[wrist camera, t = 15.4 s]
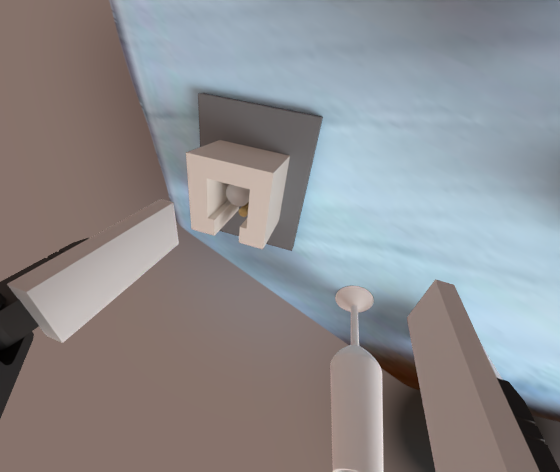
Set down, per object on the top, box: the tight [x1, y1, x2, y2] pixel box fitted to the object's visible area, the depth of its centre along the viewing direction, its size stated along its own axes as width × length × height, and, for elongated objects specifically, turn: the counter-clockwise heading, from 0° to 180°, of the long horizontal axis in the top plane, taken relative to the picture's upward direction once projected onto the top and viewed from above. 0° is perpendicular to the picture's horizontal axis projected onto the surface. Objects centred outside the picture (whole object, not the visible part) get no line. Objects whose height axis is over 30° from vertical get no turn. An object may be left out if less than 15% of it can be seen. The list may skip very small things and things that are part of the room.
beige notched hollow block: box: [186, 140, 290, 249], centre depth 31 cm, size 10×10×8 cm
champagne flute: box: [330, 286, 383, 472], centre depth 33 cm, size 7×7×24 cm
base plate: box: [198, 93, 323, 251], centre depth 33 cm, size 20×16×6 cm
